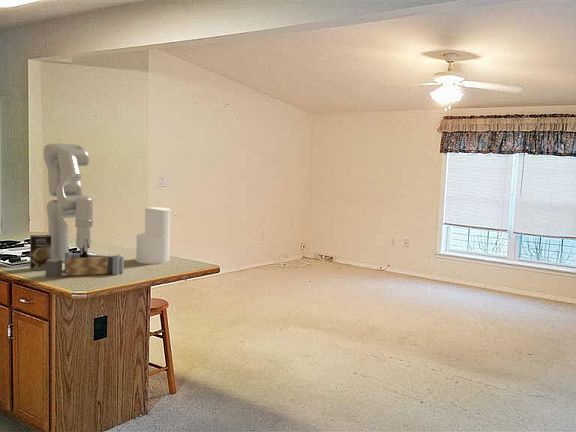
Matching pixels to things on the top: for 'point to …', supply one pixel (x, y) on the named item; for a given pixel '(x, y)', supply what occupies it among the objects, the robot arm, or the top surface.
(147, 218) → the stepped white column
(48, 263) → the grey rectangular block
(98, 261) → the door
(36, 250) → the coffee box
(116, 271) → the wall
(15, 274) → the top surface
